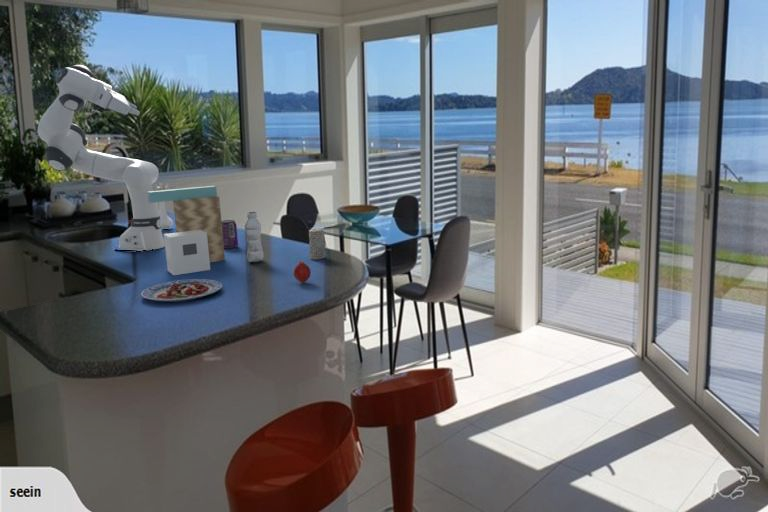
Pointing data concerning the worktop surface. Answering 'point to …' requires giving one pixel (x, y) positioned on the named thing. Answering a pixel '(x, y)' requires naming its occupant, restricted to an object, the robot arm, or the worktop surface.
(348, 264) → the worktop surface
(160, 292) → the ceramic plate
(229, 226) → the beverage can
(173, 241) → the white box
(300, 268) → the red pomegranate
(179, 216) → the oak stand
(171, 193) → the teal block
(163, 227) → the flower vase
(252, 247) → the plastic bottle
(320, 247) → the carving
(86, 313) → the worktop surface
